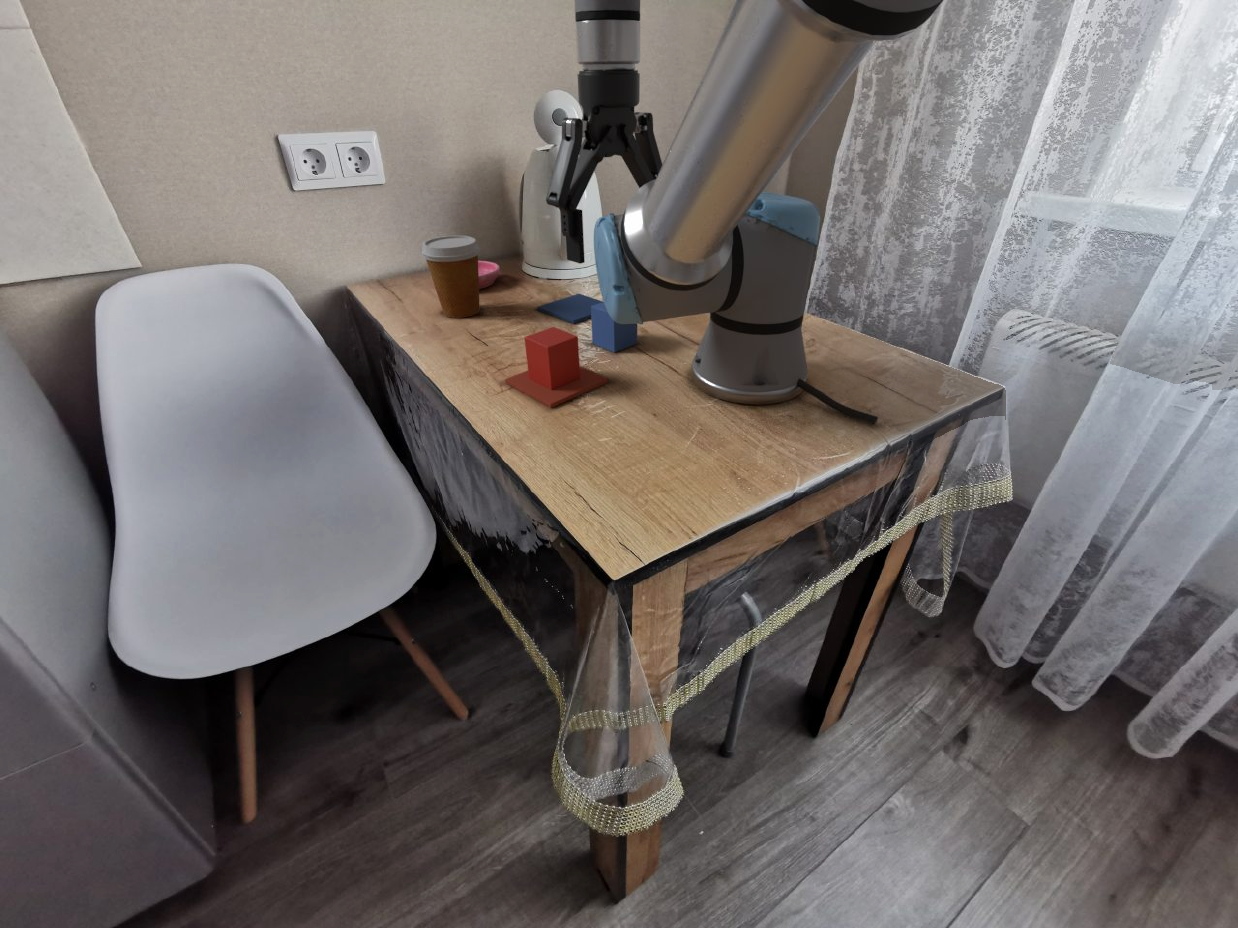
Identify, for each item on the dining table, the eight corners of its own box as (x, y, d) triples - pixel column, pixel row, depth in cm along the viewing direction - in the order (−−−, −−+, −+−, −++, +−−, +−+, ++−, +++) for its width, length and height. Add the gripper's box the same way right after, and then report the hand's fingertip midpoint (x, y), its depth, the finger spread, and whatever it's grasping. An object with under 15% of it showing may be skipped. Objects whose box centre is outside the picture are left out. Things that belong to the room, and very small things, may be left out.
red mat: (608, 382, 76) (608, 378, 76) (551, 408, 70) (550, 404, 70) (561, 361, 82) (561, 357, 82) (505, 383, 76) (504, 379, 76)
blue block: (637, 343, 87) (637, 305, 84) (614, 352, 84) (613, 314, 81) (615, 334, 90) (614, 298, 87) (592, 343, 87) (590, 306, 84)
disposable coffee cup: (482, 321, 96) (471, 248, 89) (427, 321, 96) (411, 249, 89) (493, 302, 103) (484, 234, 97) (442, 303, 104) (429, 235, 97)
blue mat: (616, 309, 100) (615, 305, 100) (573, 324, 94) (573, 320, 94) (579, 296, 106) (579, 293, 105) (537, 309, 100) (537, 306, 100)
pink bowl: (445, 275, 118) (442, 260, 116) (504, 274, 118) (502, 258, 117) (433, 294, 108) (429, 278, 106) (497, 292, 108) (495, 276, 106)
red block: (580, 378, 76) (578, 336, 73) (551, 390, 73) (547, 347, 70) (557, 367, 79) (553, 326, 76) (528, 378, 76) (523, 336, 73)
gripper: (654, 67, 76) (651, 231, 88) (504, 69, 62) (525, 264, 74) (698, 67, 72) (688, 239, 84) (547, 68, 58) (561, 276, 70)
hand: (611, 251), depth 79 cm, fingers open, 13 cm apart
